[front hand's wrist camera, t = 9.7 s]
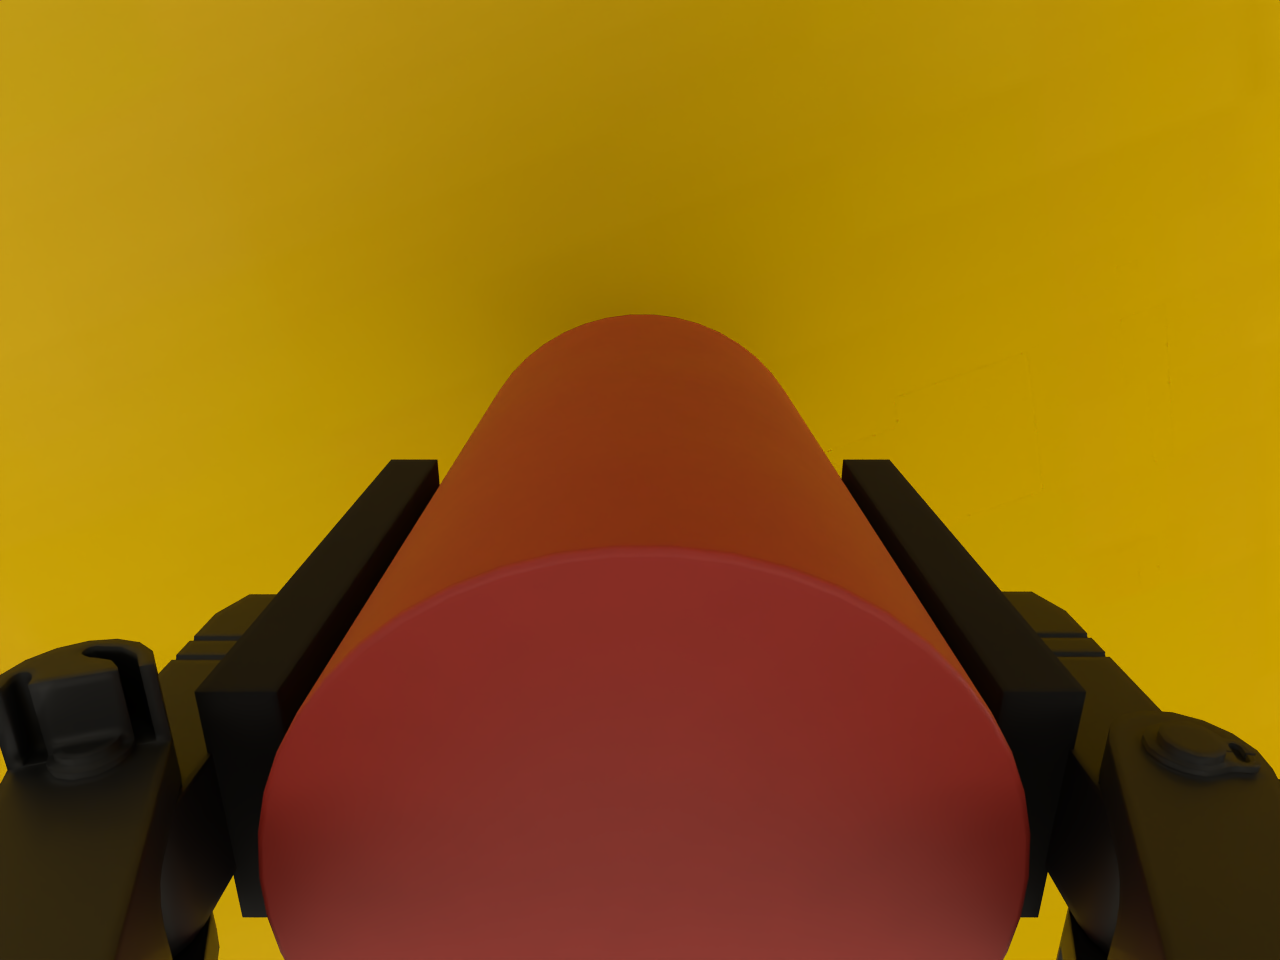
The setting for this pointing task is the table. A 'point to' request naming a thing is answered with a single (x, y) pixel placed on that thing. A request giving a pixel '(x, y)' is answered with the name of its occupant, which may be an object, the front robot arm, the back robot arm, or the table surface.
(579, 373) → the canister
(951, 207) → the table surface
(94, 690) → the front robot arm
